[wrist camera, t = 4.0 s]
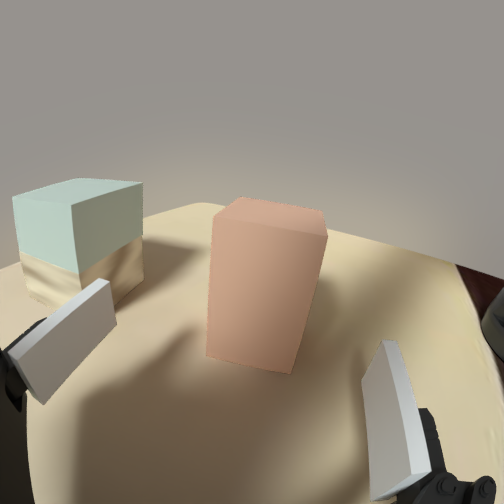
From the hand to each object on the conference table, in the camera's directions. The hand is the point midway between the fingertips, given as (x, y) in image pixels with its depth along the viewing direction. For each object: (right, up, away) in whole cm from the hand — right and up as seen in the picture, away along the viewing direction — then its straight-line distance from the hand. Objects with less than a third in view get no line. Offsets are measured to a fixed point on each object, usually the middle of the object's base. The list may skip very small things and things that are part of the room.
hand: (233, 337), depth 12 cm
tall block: (+1, -3, +9) cm, 9 cm away
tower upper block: (-15, +5, +9) cm, 18 cm away
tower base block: (-16, 0, +11) cm, 19 cm away
